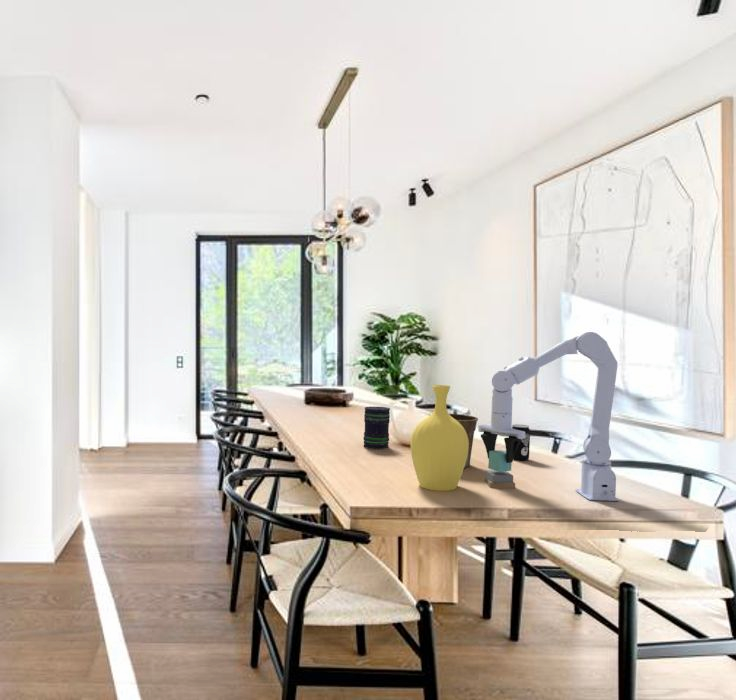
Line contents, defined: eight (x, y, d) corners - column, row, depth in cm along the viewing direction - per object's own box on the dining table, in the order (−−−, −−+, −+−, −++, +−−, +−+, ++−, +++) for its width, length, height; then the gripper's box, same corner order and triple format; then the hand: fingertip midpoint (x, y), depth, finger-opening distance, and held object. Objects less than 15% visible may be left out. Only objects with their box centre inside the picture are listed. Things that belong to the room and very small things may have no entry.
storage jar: (362, 444, 207) (363, 406, 207) (386, 444, 208) (388, 406, 208) (364, 449, 197) (365, 409, 197) (390, 449, 198) (391, 409, 198)
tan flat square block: (515, 490, 147) (515, 483, 147) (489, 489, 147) (490, 482, 147) (508, 484, 154) (508, 477, 154) (484, 483, 154) (484, 476, 154)
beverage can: (516, 461, 184) (517, 427, 184) (506, 457, 190) (507, 424, 190) (532, 461, 186) (533, 427, 185) (522, 457, 192) (523, 424, 192)
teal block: (511, 470, 150) (512, 453, 150) (499, 471, 148) (500, 454, 148) (499, 467, 154) (500, 450, 154) (488, 468, 152) (489, 450, 152)
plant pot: (484, 464, 177) (485, 416, 177) (465, 473, 164) (466, 421, 164) (439, 457, 186) (441, 411, 186) (418, 465, 173) (420, 416, 173)
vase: (397, 485, 147) (400, 384, 147) (431, 476, 158) (434, 382, 158) (445, 497, 136) (449, 388, 136) (478, 486, 148) (481, 387, 147)
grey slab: (513, 482, 148) (513, 475, 148) (492, 482, 148) (492, 475, 148) (505, 477, 154) (505, 470, 154) (485, 477, 154) (485, 470, 154)
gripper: (531, 415, 148) (530, 463, 148) (489, 409, 159) (487, 454, 159) (517, 416, 143) (516, 466, 143) (474, 410, 154) (473, 457, 154)
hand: (500, 460), depth 151 cm, fingers open, 6 cm apart
